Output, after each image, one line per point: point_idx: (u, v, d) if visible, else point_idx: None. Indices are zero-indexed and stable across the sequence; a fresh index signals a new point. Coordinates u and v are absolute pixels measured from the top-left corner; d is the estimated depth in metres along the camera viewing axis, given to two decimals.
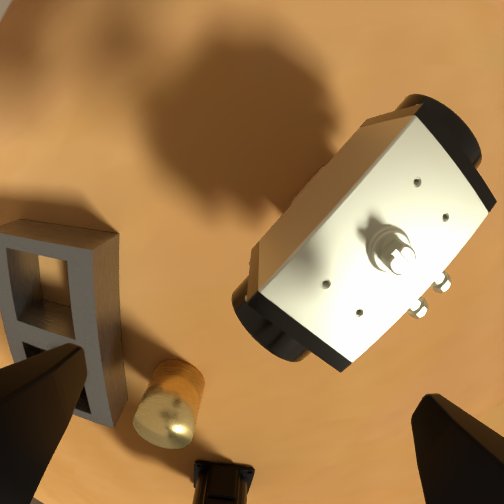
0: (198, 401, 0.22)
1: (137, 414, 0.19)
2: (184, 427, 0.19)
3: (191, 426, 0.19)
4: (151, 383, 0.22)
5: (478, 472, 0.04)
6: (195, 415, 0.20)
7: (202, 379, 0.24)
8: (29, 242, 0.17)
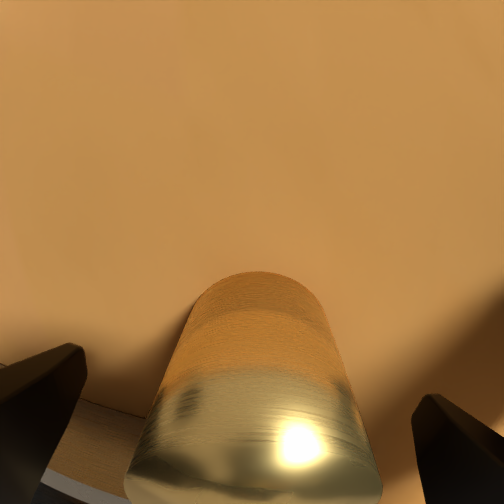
0: (242, 321, 0.06)
1: None
2: (203, 462, 0.03)
3: (213, 429, 0.04)
4: None
5: (478, 472, 0.04)
6: (239, 364, 0.05)
7: (239, 278, 0.09)
8: None
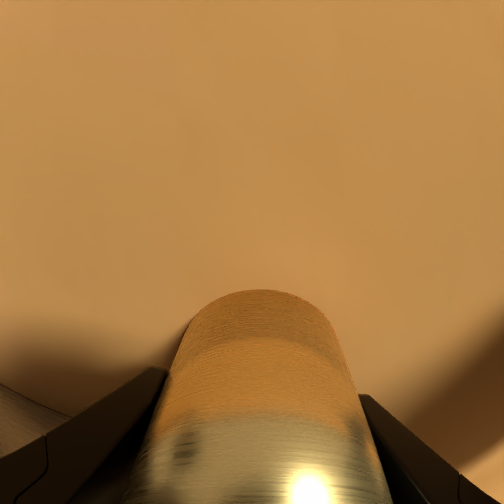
0: (243, 357, 0.05)
1: None
2: None
3: None
4: None
5: (394, 492, 0.04)
6: (241, 420, 0.04)
7: (239, 297, 0.07)
8: None
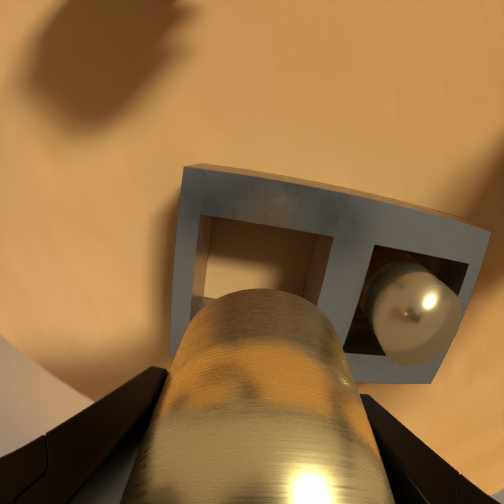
0: (244, 357, 0.05)
1: None
2: None
3: None
4: None
5: (395, 492, 0.04)
6: (241, 421, 0.04)
7: (239, 297, 0.07)
8: (177, 280, 0.15)
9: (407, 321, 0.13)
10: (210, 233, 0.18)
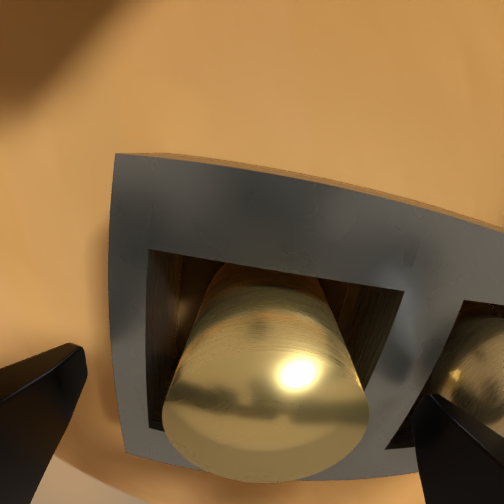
0: (255, 282, 0.08)
1: (202, 467, 0.06)
2: (232, 372, 0.05)
3: (241, 345, 0.06)
4: None
5: (478, 472, 0.04)
6: (256, 307, 0.07)
7: None
8: (120, 360, 0.08)
9: (497, 417, 0.06)
10: (181, 267, 0.11)
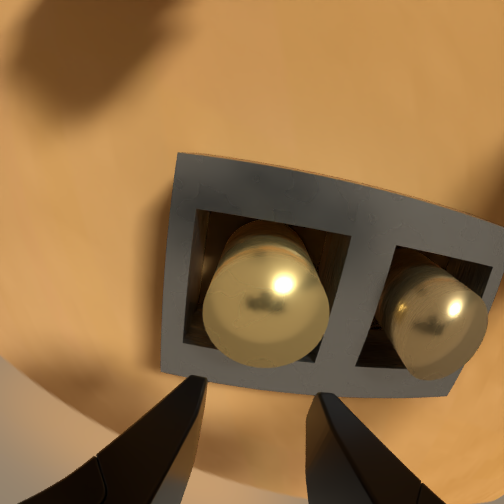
0: (259, 233, 0.13)
1: (224, 352, 0.11)
2: (247, 270, 0.10)
3: (252, 255, 0.10)
4: None
5: (348, 497, 0.04)
6: (259, 242, 0.12)
7: (255, 222, 0.16)
8: (169, 286, 0.13)
9: (433, 332, 0.11)
10: None
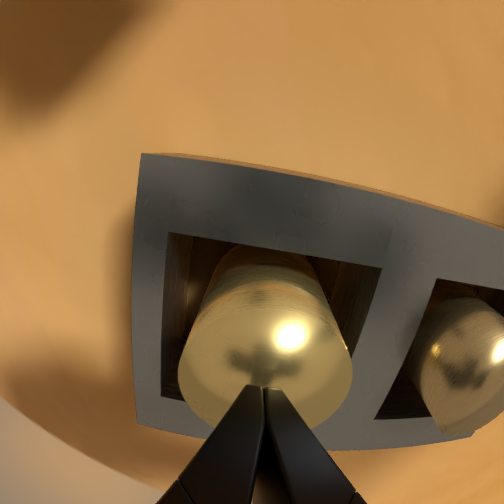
0: (256, 262, 0.10)
1: (209, 422, 0.08)
2: (238, 326, 0.07)
3: (245, 304, 0.07)
4: None
5: (275, 498, 0.04)
6: (256, 279, 0.08)
7: None
8: (139, 331, 0.09)
9: (474, 386, 0.07)
10: None
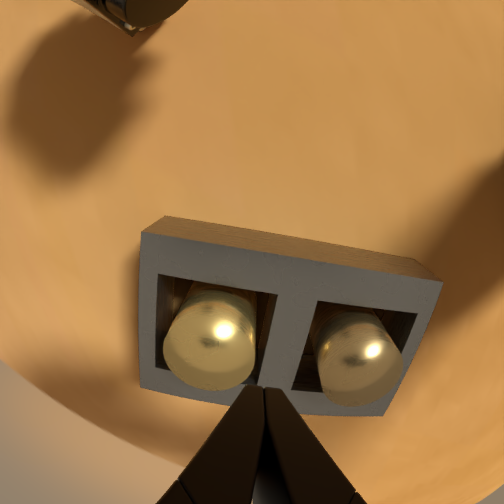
0: (209, 288, 0.17)
1: (181, 378, 0.15)
2: (191, 324, 0.14)
3: (195, 314, 0.14)
4: None
5: (275, 497, 0.04)
6: (205, 300, 0.15)
7: None
8: (142, 327, 0.16)
9: (346, 371, 0.14)
10: (174, 278, 0.20)
